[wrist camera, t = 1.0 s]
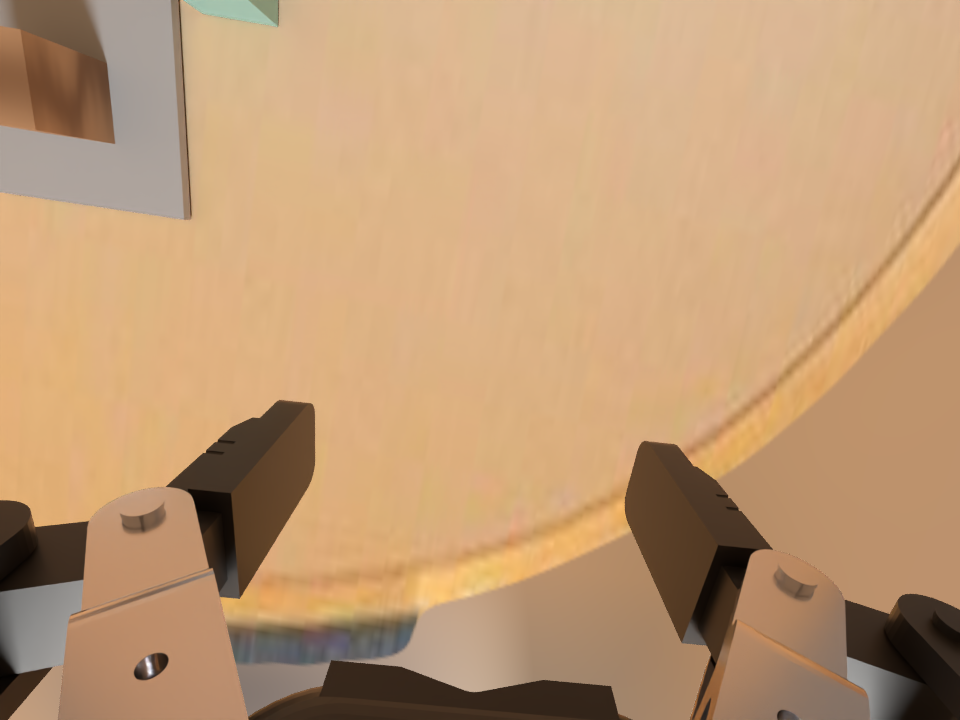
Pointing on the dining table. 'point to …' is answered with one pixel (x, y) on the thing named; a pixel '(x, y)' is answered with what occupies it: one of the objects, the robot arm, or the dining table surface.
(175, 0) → the plate
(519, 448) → the dining table surface
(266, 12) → the teal brick
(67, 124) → the walnut brick
